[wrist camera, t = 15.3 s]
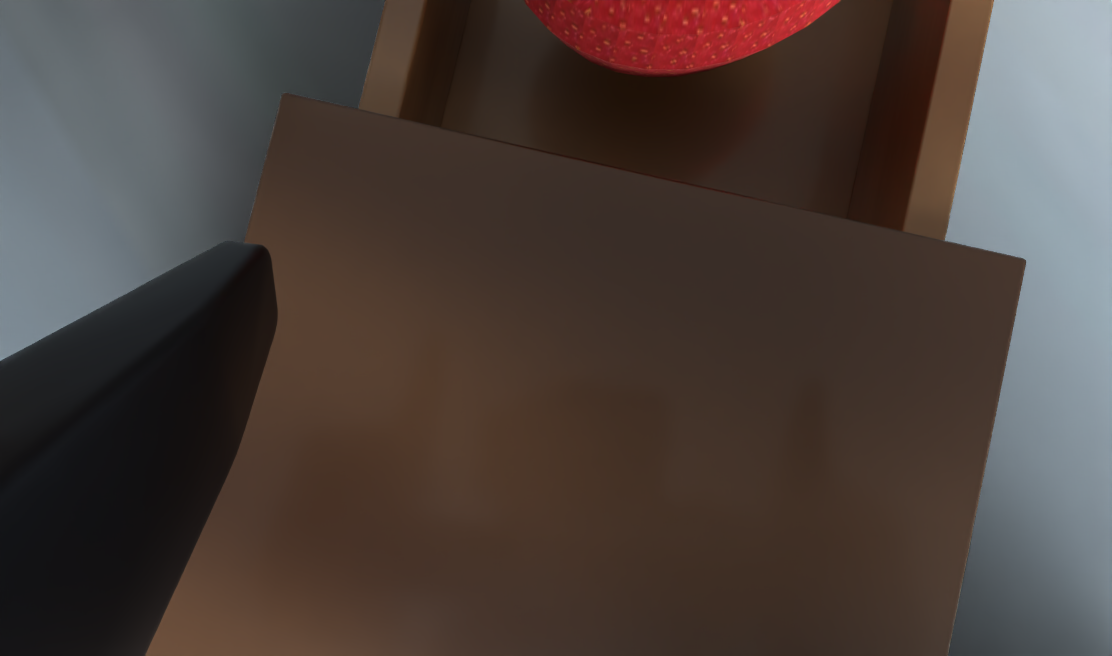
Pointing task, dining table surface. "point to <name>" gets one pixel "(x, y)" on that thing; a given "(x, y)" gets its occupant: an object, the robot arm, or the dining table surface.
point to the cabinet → (590, 414)
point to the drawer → (714, 102)
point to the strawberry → (673, 30)
